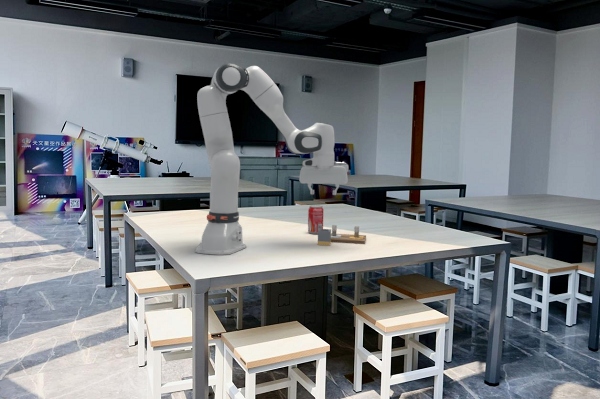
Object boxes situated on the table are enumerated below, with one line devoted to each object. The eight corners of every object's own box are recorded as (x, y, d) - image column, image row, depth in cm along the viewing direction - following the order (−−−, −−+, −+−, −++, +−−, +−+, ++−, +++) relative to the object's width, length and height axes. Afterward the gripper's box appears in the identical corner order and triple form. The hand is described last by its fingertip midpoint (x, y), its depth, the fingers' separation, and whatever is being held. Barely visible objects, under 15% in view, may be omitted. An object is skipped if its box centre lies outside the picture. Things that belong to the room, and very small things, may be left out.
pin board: (364, 244, 214) (365, 229, 214) (323, 241, 217) (323, 227, 216) (365, 238, 228) (366, 224, 227) (326, 235, 231) (327, 222, 230)
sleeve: (329, 245, 209) (329, 231, 209) (317, 244, 210) (318, 230, 209) (330, 243, 214) (331, 229, 213) (319, 242, 215) (319, 228, 214)
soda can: (325, 233, 237) (326, 206, 235) (315, 235, 232) (316, 207, 230) (314, 231, 242) (315, 204, 240) (304, 232, 237) (305, 205, 235)
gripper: (349, 161, 210) (348, 194, 212) (301, 161, 214) (300, 193, 215) (348, 162, 204) (347, 195, 206) (298, 161, 207) (298, 194, 209)
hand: (323, 194), depth 211 cm, fingers open, 8 cm apart
